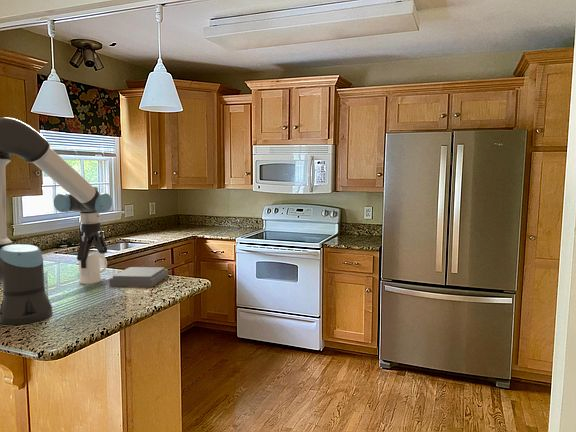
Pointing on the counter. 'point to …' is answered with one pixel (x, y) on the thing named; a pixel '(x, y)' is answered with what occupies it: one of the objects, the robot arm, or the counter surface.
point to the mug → (92, 269)
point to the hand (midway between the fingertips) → (94, 271)
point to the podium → (139, 276)
